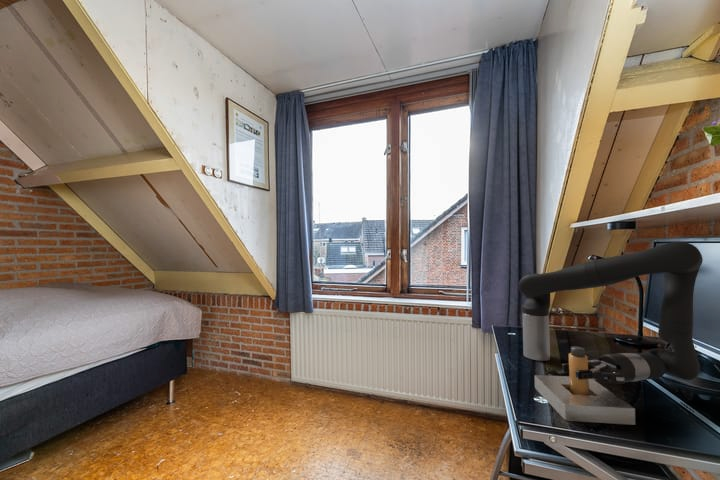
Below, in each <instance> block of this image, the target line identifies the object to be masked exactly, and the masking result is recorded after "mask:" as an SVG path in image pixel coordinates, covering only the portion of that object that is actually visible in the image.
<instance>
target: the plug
mask: <svg viewBox="0 0 720 480" xmlns="http://www.w3.org/2000/svg"><path fill="white" fill-rule="evenodd" d="M585 351H586V349H585V348H584V347H581V346H575V345H574V346H570V352H569V353H568V363H569V379H570V393H571V394H573V395H588V396H589V379H582V380H579V379H577V378H576V371H577V370H588V360H589V356H587V354H586V352H585Z"/></svg>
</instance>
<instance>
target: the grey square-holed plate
mask: <svg viewBox="0 0 720 480" xmlns="http://www.w3.org/2000/svg"><path fill="white" fill-rule="evenodd" d="M534 389H535V390H536V391H537V392H538V393H539V394H540V395H541V396H542V397H543V398H544V399H545V400H546V401H547V402H548V403H549V405H550V406H551V407H552V408H553V409H554V410H555V411H556V412H557V413H558V414H559V415H560V417H562V419H564V421H566V422H567V421H568V422H584V423H600V424H602V423H603V424H614V425H615V424H616V425H631V426H632V425H634V426H635V425H636V408H635V407H633V406H632V405H631V404H629V402H627V401H625V400H623V399H622V398H620V396H618V395H616V394H614V393H613V392H612V391H610V390H609V389H607V388H606V387H604V386H603V385H602V384H600V382H598V381H597V380H592V379H589V396H588V395H573V394H571V393H570V379H569V376H547V375H546V374H545V375H544V374H534Z"/></svg>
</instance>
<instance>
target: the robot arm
mask: <svg viewBox="0 0 720 480" xmlns="http://www.w3.org/2000/svg"><path fill="white" fill-rule="evenodd" d="M703 261H704V260H703V255H702V253H701V252H700V250H699V248H698V247H696V246H695V245H694V244H691V243H689V242H684V241H671V242H667V243H663V244H660V245H657V246H654V247H651V248H647V249H644V250H641V251H637V252H633V253H627V254H622V255H621V254H620V255H616V256H610V257H605V258H603V257H602V258H598V259H594V260H589V261H584V262H581V263H577V264H574V265H570V266H567V267H564V268H561V269H559V270H555V271H551V272H550V271H549V272H544V273H530V274H526V275H524V276H523V277H521V279H520V280H519V281H518V285H517V286H518V287H517V288H518V290H519V292H520V293H521V295H523V296H524V301H523V302H524V303H523V305H522V309H521V310H522V311H521V312H522V343H523V344H522V347H523V350H522V351H523V354H522V355H523V356H524V357H525V358H527V359H530V360H535V361H539V362H541V361H546V362H547V361H549V360H551V351H550V349H551V347H550V345H551V343H550V340H551V339H550V313H549V312H550V307H551V294H553V293H557V292H562V291H576V290H586V289H595V288H599V287H601V288H602V287H606V286H611V285H616V284H618V283H622V282H625V281H628V280H631V279H634V278H637V277H641V276H645V275H653V274H660V273H662V274H663V276H664V277H663V278H664V289H663V296H662V300H661V305H660V309H659V315H658V316H659V319H658V332H657V333H658V337H659V339H660V340H661V341H664V342H667V343H669V344H670V345H671V347H672V349H673V350H669V349H665V348H651V349H648V350H647V351H646V350H645V351H643V352H637V353H636V352H635V353H633V352H632V353H631V352H625V353H624V352H622V353H620V352H619V353H606V354H602V355H601V356H600V357H599V358H598V359H590V360H589V359H588V370H577V371H576V378H577V379H579V380H582V379H592V380H595V381H597V382H598V383H599V384H600V383H602V384H617V385H618V384H619V385H624V384H625V383H630V382H632V383H633V382H639V381H643V380H655V379H660V378H662V377H663V376H664V375H668V376H672V377H675V378H678V379H681V380H684V381H692V380H694V379H696V378H697V377H698V376H699V375H700V372H701V365H700V361H699V358H698V354H697V351H696V347H695V344H694V340H693V333H694V332H693V331H694V292H695V286H696V281H697V277H698V274H699V270H700V268H701V266H702V264H703ZM561 370H562V371H563V372H569V362H567V363H561Z"/></svg>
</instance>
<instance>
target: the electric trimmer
mask: <svg viewBox="0 0 720 480" xmlns="http://www.w3.org/2000/svg"><path fill="white" fill-rule="evenodd" d="M545 375H547V376H569V372H563V371H562V369H558V370H554V369H552V370H550V371H548V372H547V373H546V374H545Z"/></svg>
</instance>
